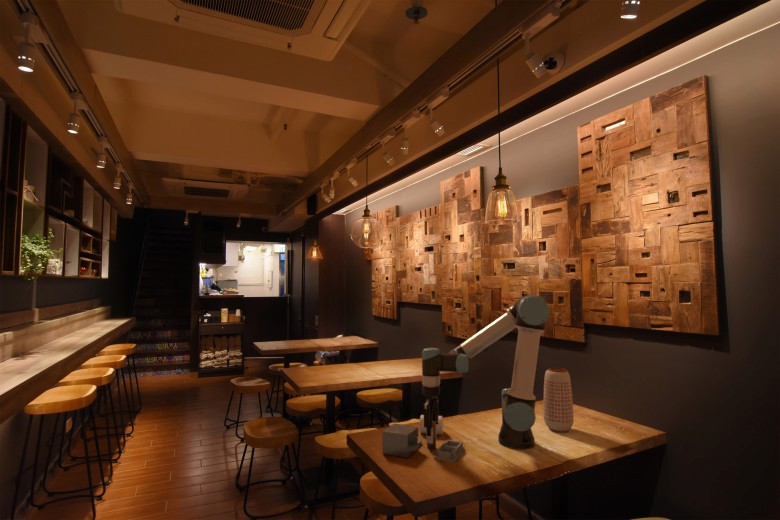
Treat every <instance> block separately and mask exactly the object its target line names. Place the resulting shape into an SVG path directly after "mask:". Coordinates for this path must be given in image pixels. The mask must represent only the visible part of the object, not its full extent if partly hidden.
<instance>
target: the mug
mask: <svg viewBox="0 0 780 520" xmlns="http://www.w3.org/2000/svg"><path fill="white" fill-rule="evenodd" d="M437 422H439V423H438V424H436V435H440V436H442V435H443V432H444V431H443V430H444V429H443V428H444V419H443V415H438V421H437ZM419 433H420V434H425V435H426V427H424V414H421V415H420V417H419Z"/></svg>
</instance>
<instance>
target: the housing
mask: <svg viewBox="0 0 780 520" xmlns="http://www.w3.org/2000/svg"><path fill="white" fill-rule="evenodd" d="M418 438H419V426H413V425H409V424H400V423H396V422H395V423H392V424H391V425H389V426H388V427H387V428H385V429H384V430H382V442H381V444H382V446H381V447H382V448H381V449H382V454H385V455H389V456H395V457H401V458H404V459H409V457H410V456H412V455H413V454H414V453H415V452H416V451H417V450H419V447H418V440H419V439H418Z"/></svg>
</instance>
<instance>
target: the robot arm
mask: <svg viewBox="0 0 780 520" xmlns="http://www.w3.org/2000/svg"><path fill="white" fill-rule="evenodd" d="M549 316H550V307H549V304H548V303H547V301H546V300H545V299H544V298H543V297H541V296H539V295H536V294H526V295H523V296H522V297H520V298H519V299H518V300H517V301H515V303H513V304H512V305H511V306H510V307H507V309H506V311H505V313H504V314H502V315H501V316H499V317H498V318H496V319H495V320H493V321H492V322H491V323H489V324H488V325H486V326H485V327H484V328H482V329H480V330H479V331H478V332H476V333H475V334H473V335H472V336H471V337H469V338H468V339H466V340H465V341H463V342H462V343H460V344H459V345H458V346H455V348H452V349H451V350H449V352H448V353H443V352H440V349H439V348H437V347H426V348H423V350H422V351H421V352H422V353H421V357H422V358H421V368H422V370H421V375H422V376H421V377H420V378H421V380H422V381H421V384H422V386H421V388H422V389H421V391H422V392H421V394H422V395H423V396H425V399H424V400H425V401H424V403H423V404H422V409H423V415H424V427H426V434H425V435H426V436H425V437H426V438H425V439H426V444H427V443H429V444H433V427H432V420H435V421H436V424H438V423H439V422H437V421H438V416H439V402H440V398H439V396H440V395H441V386H440V384H441V372H442V373H443V372H446V373H447V372H448V373H460V374H461V373H468V371H469V360H471V359H472V358H473V357H475V356H476V355H477V354H479V353H481V352H482V351H484V350H485V349H487V348H488V347H489V346H491V345H492V344H494V343H495V342H497V341H498V340H500V339H501V338H503V337H504V336H506V335H507V334H508V333H510V332H512V331H513V330H515V329H517V330H518V333H517V341H516V347H515V354H514V363H513V368H512V369H513V370H512V375H511V376H512V377H511V384H510V387H508V388H507V387H506V388H503V389H502V390H501V395H500V396H501V415H502V416H501V420H502V421H501V426H500V430H499V432H498V437H497V438H498V441H497V442H498V443H499V444H500V445H502V446H504V447H507V448H510V449H515V450H517V449H518V450H519V449H520V450H525V449H531V448H533V447H534V446H535V445H536V443H535V442H536V441H535V440H536V439H535V437H534V434H533V431H532V427H533V426H534V425H535V422H536V411H535V409H536V402H537V397H536V395H535V394H534V387H535V379H536V370H537V363H538V362H537V361H538V357H539V356H538V355H539V347H540V339H541V334H542V333H544V332H545V331H546V324H547V320H548V318H549Z"/></svg>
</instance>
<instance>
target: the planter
mask: <svg viewBox="0 0 780 520" xmlns="http://www.w3.org/2000/svg"><path fill="white" fill-rule="evenodd" d="M571 381H572V380H571V376H570V373H569V372H568V370H567V369H565V368H561V367H549V368H548V369H547V370H545V374H544V380H543V421H544V423H545V426H546V427H547V428H548V429H549V430H550V431H552V432H557V433H567V432H569V430H571V428H572V427H573V425H574V421H575V419H574V402H573V389H572V382H571Z"/></svg>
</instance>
